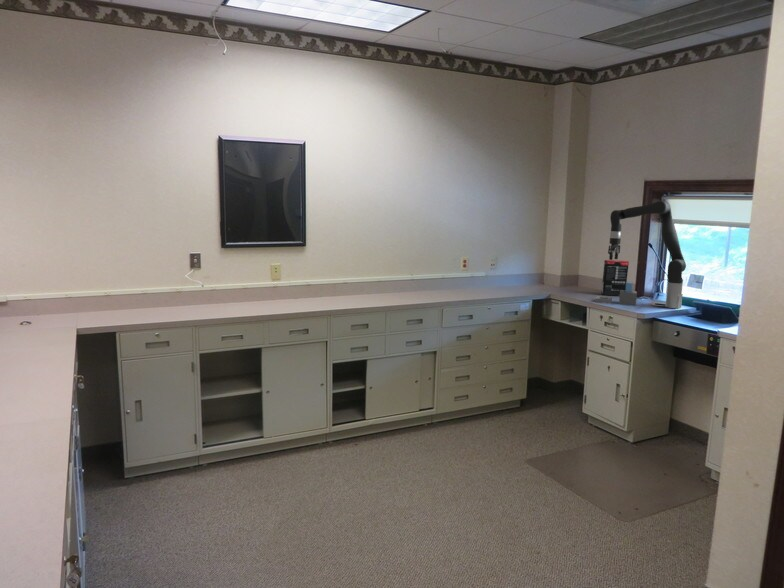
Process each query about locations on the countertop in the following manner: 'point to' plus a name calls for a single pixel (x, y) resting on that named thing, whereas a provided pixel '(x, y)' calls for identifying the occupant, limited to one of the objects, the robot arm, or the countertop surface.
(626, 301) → the jack block
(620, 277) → the graphics card box
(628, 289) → the plug
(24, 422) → the countertop surface
